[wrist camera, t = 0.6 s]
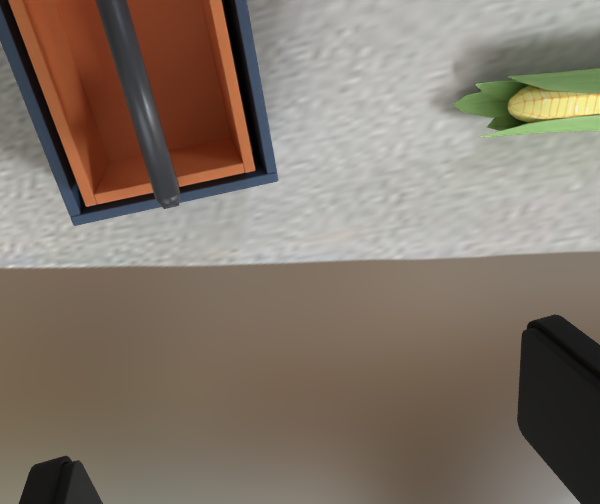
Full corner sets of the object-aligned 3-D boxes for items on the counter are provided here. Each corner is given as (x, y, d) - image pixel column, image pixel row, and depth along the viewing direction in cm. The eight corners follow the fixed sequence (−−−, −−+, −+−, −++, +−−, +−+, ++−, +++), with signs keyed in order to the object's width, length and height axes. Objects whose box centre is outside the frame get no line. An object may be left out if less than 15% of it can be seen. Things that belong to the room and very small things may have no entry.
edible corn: (657, 121, 42) (707, 131, 38) (446, 138, 38) (477, 151, 34) (675, 57, 40) (731, 60, 36) (453, 68, 36) (487, 73, 32)
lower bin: (-1, -64, 27) (-52, -89, 21) (214, -94, 29) (224, -125, 23) (91, 191, 34) (73, 226, 28) (261, 155, 36) (278, 181, 30)
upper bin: (31, -41, 27) (-57, -80, 17) (197, -65, 29) (208, -115, 18) (104, 170, 33) (70, 236, 23) (240, 142, 34) (267, 192, 24)
